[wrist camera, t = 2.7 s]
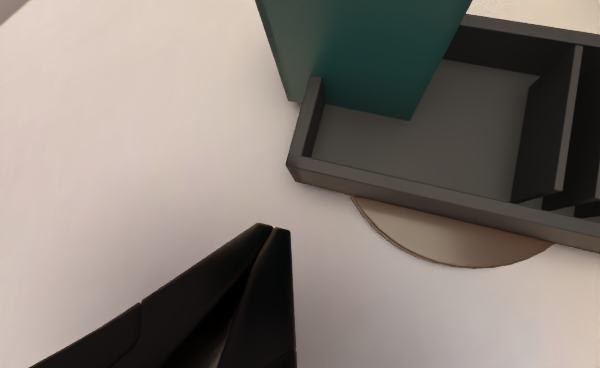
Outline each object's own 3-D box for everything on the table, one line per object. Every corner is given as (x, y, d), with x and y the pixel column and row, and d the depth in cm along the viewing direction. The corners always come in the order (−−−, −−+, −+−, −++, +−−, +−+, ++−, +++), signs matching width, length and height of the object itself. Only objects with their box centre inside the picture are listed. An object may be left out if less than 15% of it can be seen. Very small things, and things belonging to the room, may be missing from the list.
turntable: (587, 287, 18) (602, 289, 17) (323, 247, 20) (322, 247, 19) (591, 45, 20) (603, 34, 19) (353, 28, 22) (354, 17, 21)
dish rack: (630, 261, 17) (1239, 271, 5) (267, 174, 19) (164, 60, 8) (649, 90, 18) (1167, -186, 7) (307, 31, 21) (267, -241, 9)
